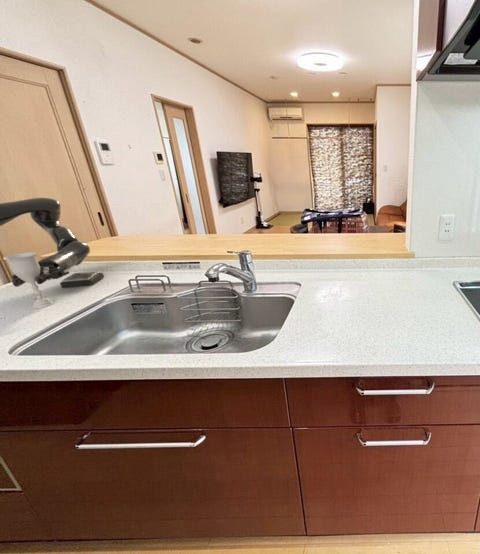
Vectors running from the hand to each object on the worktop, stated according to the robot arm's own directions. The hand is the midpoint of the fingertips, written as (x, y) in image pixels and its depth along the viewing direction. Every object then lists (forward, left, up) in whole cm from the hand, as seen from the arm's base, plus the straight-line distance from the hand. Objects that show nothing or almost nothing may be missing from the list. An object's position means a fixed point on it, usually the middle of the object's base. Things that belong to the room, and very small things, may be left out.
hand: (26, 282), depth 97 cm
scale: (+2, +23, -9) cm, 25 cm away
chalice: (0, +3, -10) cm, 10 cm away
